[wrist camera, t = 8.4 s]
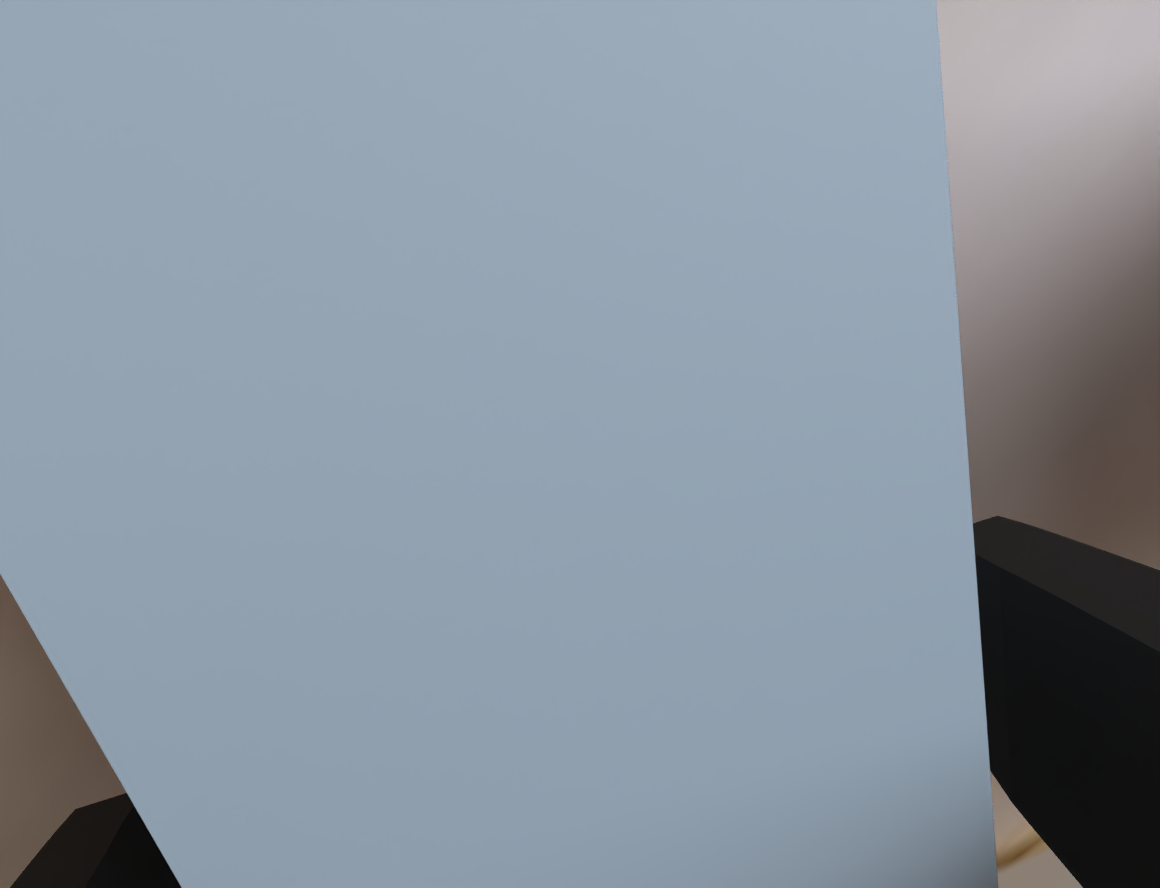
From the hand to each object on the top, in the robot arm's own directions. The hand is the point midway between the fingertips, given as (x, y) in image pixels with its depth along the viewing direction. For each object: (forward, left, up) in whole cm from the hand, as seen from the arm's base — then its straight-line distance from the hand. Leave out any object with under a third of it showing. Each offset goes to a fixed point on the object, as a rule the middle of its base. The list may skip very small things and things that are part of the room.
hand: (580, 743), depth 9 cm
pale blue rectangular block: (0, 0, -2) cm, 2 cm away
